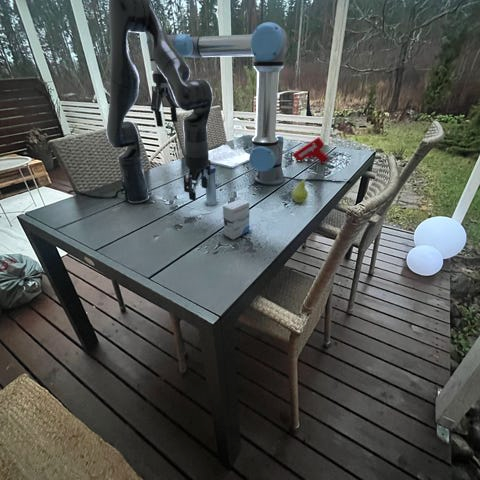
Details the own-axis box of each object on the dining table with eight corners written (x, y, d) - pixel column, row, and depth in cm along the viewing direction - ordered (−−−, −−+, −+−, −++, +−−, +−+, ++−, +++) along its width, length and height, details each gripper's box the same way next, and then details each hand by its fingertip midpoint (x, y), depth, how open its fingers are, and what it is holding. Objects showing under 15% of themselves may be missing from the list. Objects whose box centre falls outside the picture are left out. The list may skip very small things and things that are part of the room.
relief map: (232, 168, 162) (231, 159, 159) (190, 158, 179) (189, 150, 177) (257, 157, 180) (257, 149, 177) (217, 149, 198) (217, 142, 195)
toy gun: (331, 157, 168) (319, 136, 164) (331, 159, 164) (318, 137, 160) (306, 172, 178) (294, 153, 174) (305, 174, 174) (292, 154, 170)
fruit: (288, 200, 123) (290, 174, 116) (302, 197, 125) (305, 172, 119) (296, 206, 118) (299, 179, 111) (310, 203, 120) (314, 177, 114)
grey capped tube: (212, 206, 119) (210, 170, 110) (204, 204, 121) (201, 168, 112) (218, 202, 122) (216, 167, 113) (210, 200, 124) (208, 166, 115)
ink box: (240, 226, 103) (240, 197, 97) (249, 231, 100) (250, 202, 94) (223, 234, 98) (222, 205, 92) (232, 240, 95) (232, 209, 89)
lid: (210, 174, 110) (210, 170, 109) (200, 172, 113) (200, 168, 112) (218, 171, 114) (217, 166, 113) (208, 169, 116) (207, 164, 115)
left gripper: (197, 139, 92) (199, 181, 103) (173, 157, 82) (179, 200, 94) (217, 145, 90) (217, 186, 101) (195, 163, 80) (198, 207, 92)
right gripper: (167, 72, 132) (173, 119, 143) (136, 73, 112) (146, 128, 123) (181, 72, 130) (186, 120, 141) (151, 73, 110) (160, 129, 121)
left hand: (198, 193), depth 97 cm, fingers open, 8 cm apart
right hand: (167, 124), depth 132 cm, fingers open, 13 cm apart
